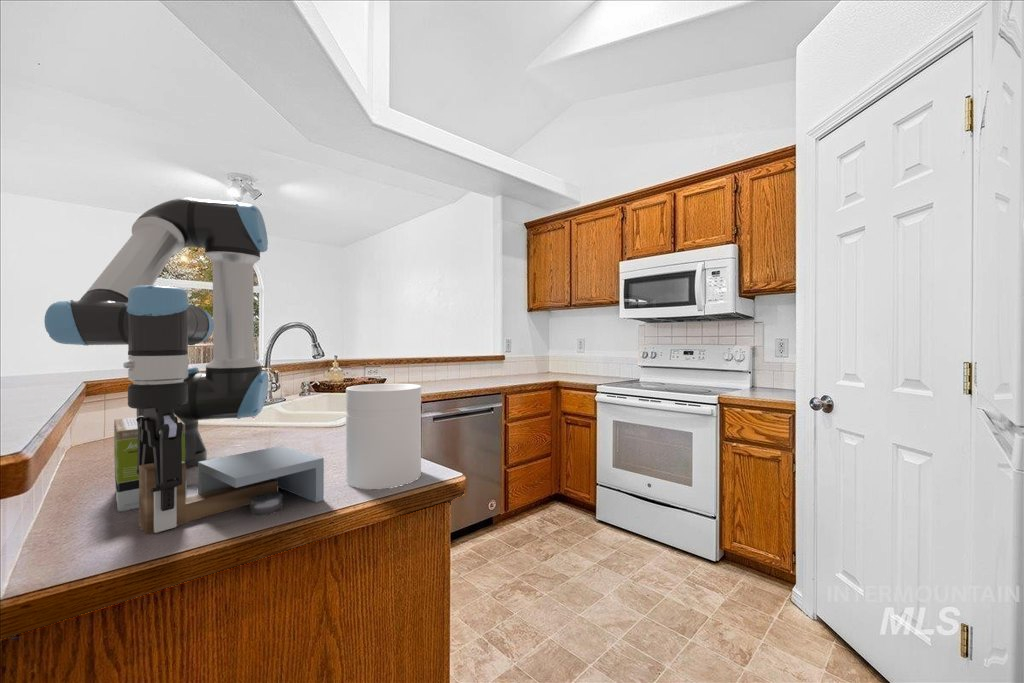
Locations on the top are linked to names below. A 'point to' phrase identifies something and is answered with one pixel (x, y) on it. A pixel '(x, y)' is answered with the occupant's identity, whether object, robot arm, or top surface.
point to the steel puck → (265, 503)
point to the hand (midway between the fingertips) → (158, 523)
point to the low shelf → (266, 471)
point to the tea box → (130, 462)
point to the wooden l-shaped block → (195, 498)
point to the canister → (383, 435)
